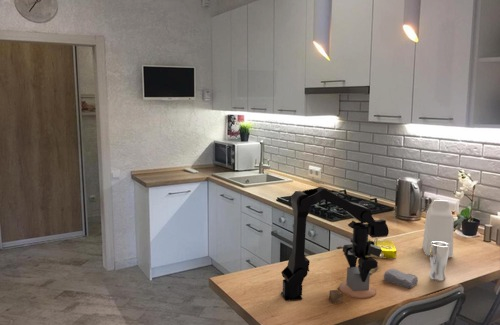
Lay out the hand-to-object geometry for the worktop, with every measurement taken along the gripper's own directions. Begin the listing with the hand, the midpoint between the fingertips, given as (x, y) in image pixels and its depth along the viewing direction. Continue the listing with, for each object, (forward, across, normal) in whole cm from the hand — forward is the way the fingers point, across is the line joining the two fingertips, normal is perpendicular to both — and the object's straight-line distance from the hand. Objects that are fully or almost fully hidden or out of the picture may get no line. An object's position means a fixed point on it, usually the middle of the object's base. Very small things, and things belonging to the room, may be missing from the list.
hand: (358, 276), depth 169 cm
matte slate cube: (+4, 0, 0) cm, 4 cm away
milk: (+6, +33, -57) cm, 66 cm away
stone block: (+6, +5, -22) cm, 23 cm away
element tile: (+6, +38, -28) cm, 47 cm away
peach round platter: (+5, 0, 0) cm, 5 cm away
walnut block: (+6, -7, +12) cm, 15 cm away
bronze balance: (+5, +17, -13) cm, 22 cm away
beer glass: (+6, +5, -38) cm, 39 cm away
